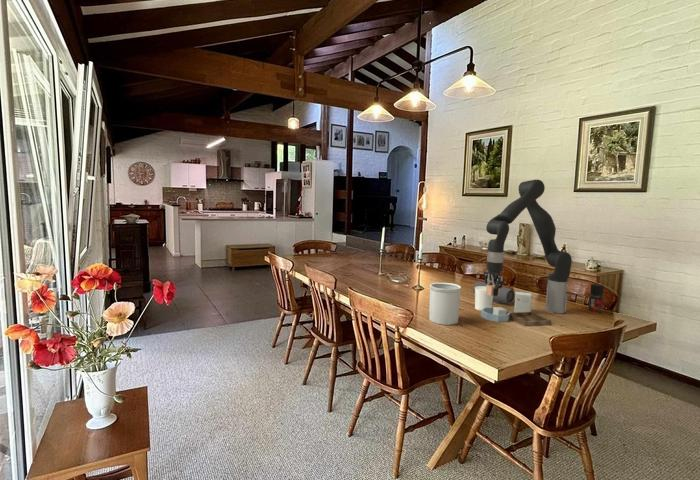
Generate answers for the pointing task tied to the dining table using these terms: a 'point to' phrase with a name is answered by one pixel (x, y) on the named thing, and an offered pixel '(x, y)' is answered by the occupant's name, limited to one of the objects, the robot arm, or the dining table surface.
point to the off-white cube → (499, 311)
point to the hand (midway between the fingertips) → (492, 294)
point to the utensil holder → (444, 303)
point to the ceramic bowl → (489, 315)
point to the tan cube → (490, 290)
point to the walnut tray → (529, 319)
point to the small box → (522, 302)
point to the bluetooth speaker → (504, 294)
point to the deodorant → (596, 298)
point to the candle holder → (482, 298)
